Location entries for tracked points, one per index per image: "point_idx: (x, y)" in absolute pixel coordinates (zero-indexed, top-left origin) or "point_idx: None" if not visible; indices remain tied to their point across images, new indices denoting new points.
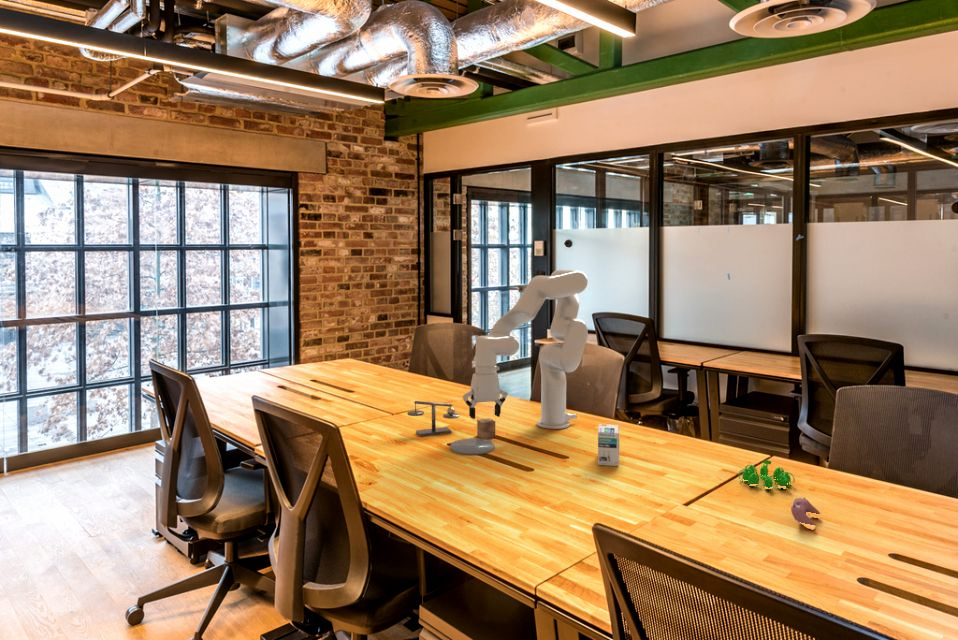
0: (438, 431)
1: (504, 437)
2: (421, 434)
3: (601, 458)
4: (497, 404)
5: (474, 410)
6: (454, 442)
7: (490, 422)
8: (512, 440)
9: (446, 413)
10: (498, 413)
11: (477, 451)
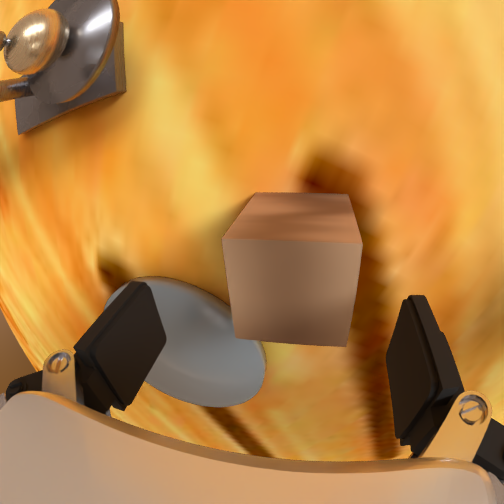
0: (64, 107)
1: (387, 291)
2: (22, 132)
3: None
4: (415, 441)
5: (129, 392)
6: None
7: (302, 342)
8: (387, 342)
9: (53, 2)
10: (392, 381)
11: (184, 400)
